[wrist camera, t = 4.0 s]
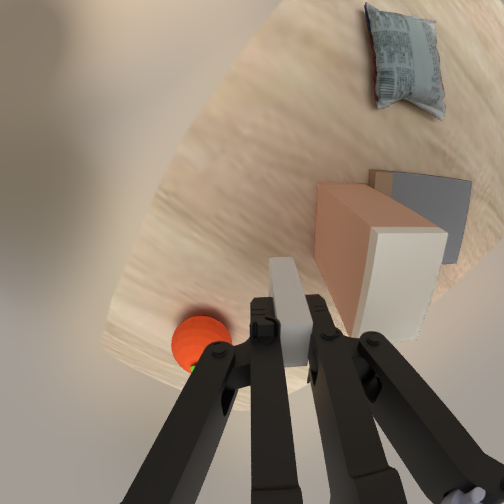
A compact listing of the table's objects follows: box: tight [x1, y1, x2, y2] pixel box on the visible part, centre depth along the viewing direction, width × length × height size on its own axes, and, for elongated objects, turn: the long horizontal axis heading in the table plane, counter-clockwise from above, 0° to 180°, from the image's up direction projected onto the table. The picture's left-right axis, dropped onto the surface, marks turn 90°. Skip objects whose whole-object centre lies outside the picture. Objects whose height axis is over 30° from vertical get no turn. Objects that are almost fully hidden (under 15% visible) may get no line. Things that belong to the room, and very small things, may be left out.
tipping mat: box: [369, 170, 472, 264], centre depth 27 cm, size 15×11×2 cm
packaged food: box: [364, 2, 446, 121], centre depth 18 cm, size 9×12×5 cm
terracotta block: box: [314, 182, 448, 344], centre depth 21 cm, size 5×8×14 cm, turn 2°
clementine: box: [171, 316, 232, 373], centre depth 30 cm, size 8×7×7 cm
